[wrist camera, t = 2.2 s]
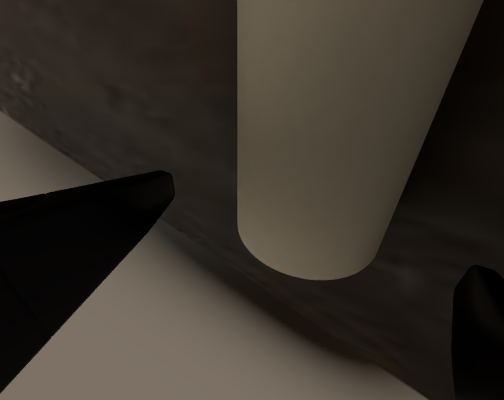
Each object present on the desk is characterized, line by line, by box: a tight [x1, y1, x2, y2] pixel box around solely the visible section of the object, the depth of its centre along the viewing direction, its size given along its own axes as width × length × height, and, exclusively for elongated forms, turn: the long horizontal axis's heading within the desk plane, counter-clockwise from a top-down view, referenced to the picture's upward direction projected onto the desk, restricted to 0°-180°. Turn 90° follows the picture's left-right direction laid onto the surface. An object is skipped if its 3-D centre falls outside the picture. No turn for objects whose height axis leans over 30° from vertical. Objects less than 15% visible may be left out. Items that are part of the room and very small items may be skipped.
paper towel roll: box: [237, 0, 483, 280], centre depth 8 cm, size 6×12×6 cm, turn 178°
